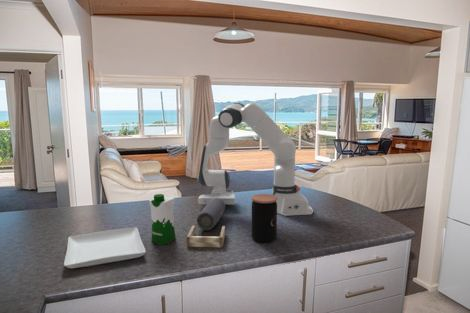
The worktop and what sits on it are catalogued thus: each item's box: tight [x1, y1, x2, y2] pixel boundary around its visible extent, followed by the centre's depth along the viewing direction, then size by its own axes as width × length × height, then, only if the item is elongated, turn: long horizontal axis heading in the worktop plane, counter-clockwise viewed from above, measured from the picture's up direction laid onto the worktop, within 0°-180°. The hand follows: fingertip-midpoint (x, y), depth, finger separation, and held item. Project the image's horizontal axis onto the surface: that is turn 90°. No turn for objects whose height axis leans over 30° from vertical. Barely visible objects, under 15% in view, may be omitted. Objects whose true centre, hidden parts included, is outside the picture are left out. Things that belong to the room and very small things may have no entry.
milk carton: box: [148, 193, 176, 246], centre depth 135 cm, size 9×9×20 cm
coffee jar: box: [251, 193, 278, 244], centre depth 137 cm, size 11×11×18 cm
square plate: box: [63, 226, 147, 269], centre depth 126 cm, size 27×27×4 cm
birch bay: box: [186, 225, 226, 248], centre depth 136 cm, size 14×13×4 cm
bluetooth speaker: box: [196, 198, 226, 231], centre depth 155 cm, size 23×9×10 cm, turn 170°
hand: (215, 203), depth 170 cm, fingers closed
